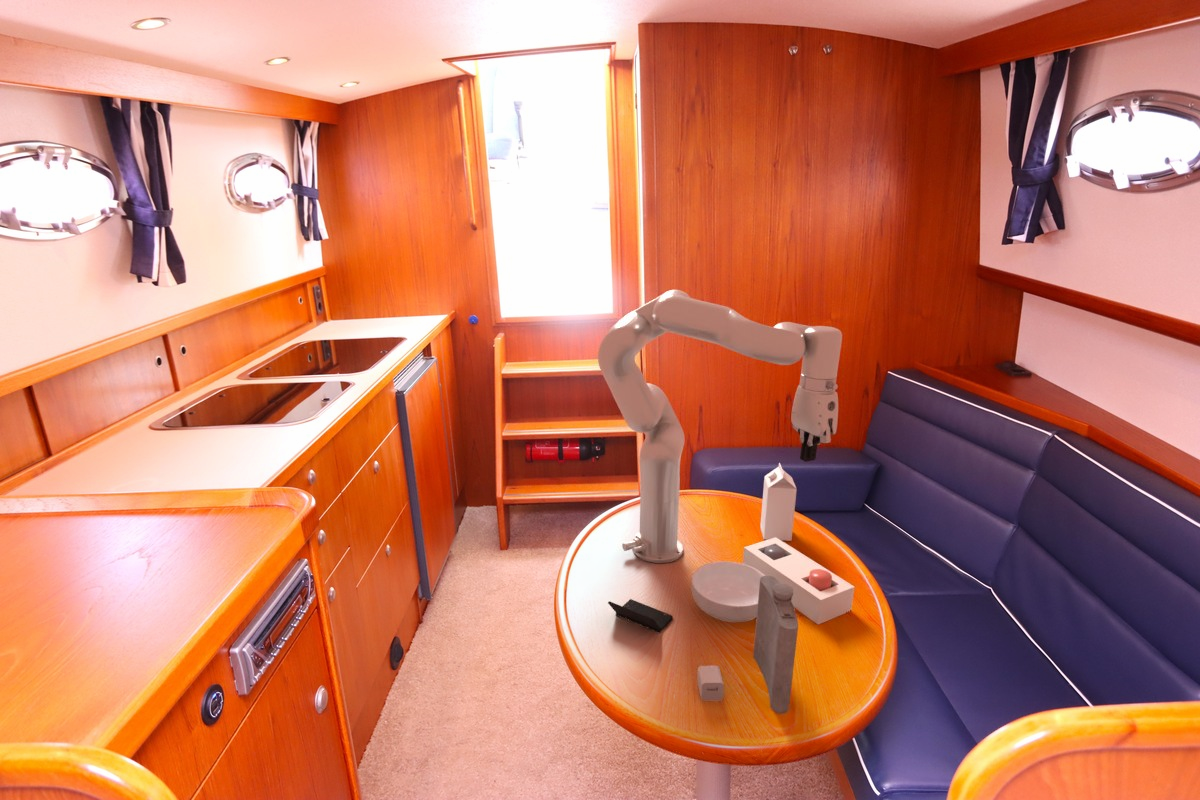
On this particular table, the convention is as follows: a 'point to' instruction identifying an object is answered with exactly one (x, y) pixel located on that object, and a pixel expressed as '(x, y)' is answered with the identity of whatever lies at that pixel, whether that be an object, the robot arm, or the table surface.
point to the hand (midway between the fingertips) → (807, 459)
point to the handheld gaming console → (643, 615)
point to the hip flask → (776, 640)
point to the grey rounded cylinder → (774, 552)
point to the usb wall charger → (710, 683)
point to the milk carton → (778, 505)
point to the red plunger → (820, 579)
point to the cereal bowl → (727, 590)
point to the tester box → (801, 581)
